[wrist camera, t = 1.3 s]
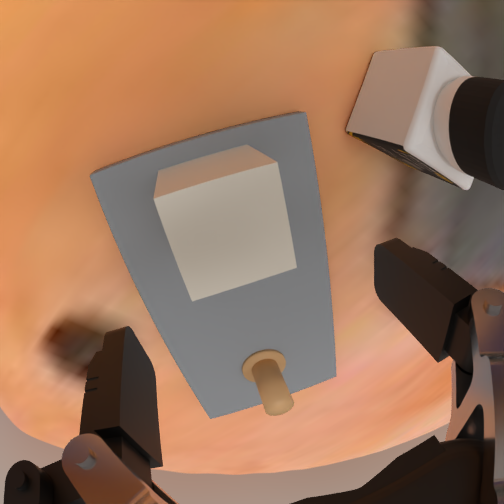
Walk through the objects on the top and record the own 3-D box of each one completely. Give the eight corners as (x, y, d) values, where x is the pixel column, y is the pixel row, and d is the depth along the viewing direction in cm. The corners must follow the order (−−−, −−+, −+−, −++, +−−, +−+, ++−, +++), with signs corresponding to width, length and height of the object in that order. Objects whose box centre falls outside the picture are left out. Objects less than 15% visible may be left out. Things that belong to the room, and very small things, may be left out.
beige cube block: (247, 144, 19) (277, 162, 14) (265, 224, 22) (297, 267, 16) (158, 170, 18) (153, 198, 13) (185, 249, 21) (192, 301, 16)
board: (298, 111, 20) (344, 117, 14) (331, 368, 32) (356, 410, 27) (93, 171, 18) (65, 199, 13) (208, 410, 31) (218, 458, 26)
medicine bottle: (342, 132, 21) (472, 173, 11) (373, 49, 19) (507, 44, 8) (408, 166, 24) (523, 220, 13) (434, 94, 21) (554, 118, 11)
